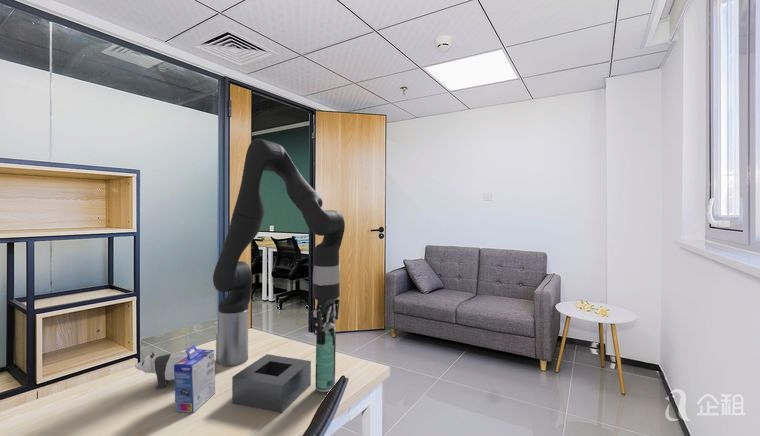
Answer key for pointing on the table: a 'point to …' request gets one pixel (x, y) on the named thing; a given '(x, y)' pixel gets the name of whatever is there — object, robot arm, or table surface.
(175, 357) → the giant panda
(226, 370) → the table surface
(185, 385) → the ink cartridge box
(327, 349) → the spray can
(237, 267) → the robot arm
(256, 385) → the square collar
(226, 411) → the table surface
